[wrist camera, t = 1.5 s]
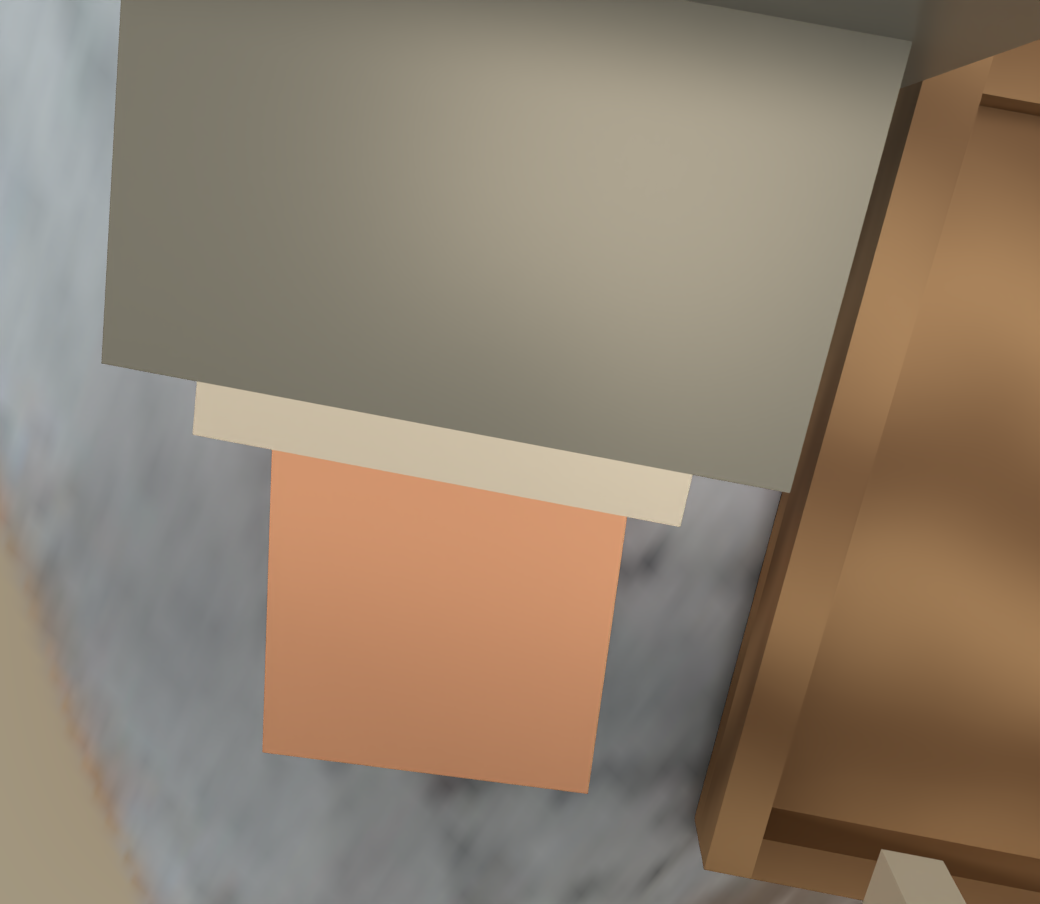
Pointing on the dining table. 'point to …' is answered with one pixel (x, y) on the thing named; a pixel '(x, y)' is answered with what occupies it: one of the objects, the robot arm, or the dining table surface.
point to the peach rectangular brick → (435, 625)
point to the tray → (908, 536)
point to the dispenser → (510, 225)
